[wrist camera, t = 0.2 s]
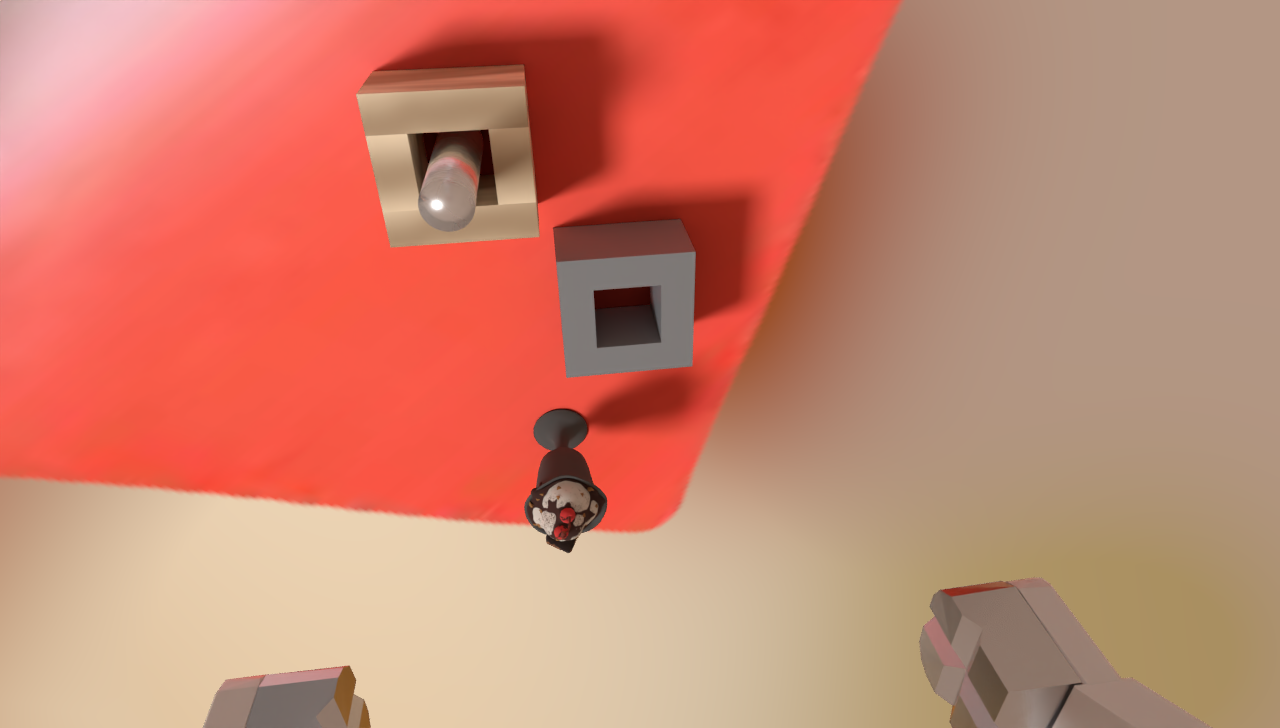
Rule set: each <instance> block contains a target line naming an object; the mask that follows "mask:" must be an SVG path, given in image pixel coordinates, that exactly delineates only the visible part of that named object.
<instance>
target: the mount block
mask: <svg viewBox="0 0 1280 728" xmlns="http://www.w3.org/2000/svg"><path fill="white" fill-rule="evenodd" d="M356 96H357V100H358V105H359V109H360V113H361V118H362V122H363V127H364V131H365V136H366V140H367V144H368V149H369V153H370V158H371V162H372V167H373V171H374V175H375V180H376V184H377V189H378V193H379V198H380V202H381V206H382V211H383V215H384V220H385V224H386V229H387V233H388V237H389V242H390V246H391V247H403V246H417V245H431V244H446V243H460V242H474V241H488V240H502V239H517V238H531V237H540V236H539V217H538V201H537V191H536V181H535V171H534V161H533V151H532V141H531V131H530V120H529V110H528V100H527V90H526V80H525V70H524V64H521V65H499V66H477V67H456V68H434V69H413V70H391V71H373V72H372V73H371V74H370V76H369V77H368V79H367V80H366V81H365V83H364V84H363V86H362V87H361V88H360V90H359V91H358V93H357V94H356ZM486 129H489V137H490V144H491V152H492V160H493V167H494V174H491V175H480V176H479V184H478V191H477V199H476V207H475V213H474V216H473V219H472V220H471V222H470V223H469V224H468V225H467V226H466V227H464V228H462V229H460V230H458V231H453V232H446V231H440V230H438V229H435V228H433V227H432V226H430V225H429V224H428V223H427V222H426V221H425V220H424V219H423V218H422V216H421V214H420V212H419V208H418V198H419V195H420V191H421V188H422V185H423V182H424V178H425V175H426V172H427V168H428V160H427V155H426V149H425V144H424V138H423V133H432V132H450V131H468V130H486Z"/></svg>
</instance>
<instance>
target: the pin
mask: <svg viewBox="0 0 1280 728" xmlns="http://www.w3.org/2000/svg"><path fill="white" fill-rule="evenodd" d="M482 152H483V137H482V134H481V132H480V131H479V130H468V131H450V132H438V135H437V139H436V142H435V145H434V149H433V152H432V155H431V158H430V162H429V165H428V168H427V172H426V175H425V178H424V182H423V185H422V188H421V191H420V195H419V198H418V208H419V212H420V214H421V216H422V218H423V219H424V220H425V221H426V222H427V223H428V224H429V225H430V226H432V227H433V228H435V229H438V230H440V231H446V232H453V231H458V230H460V229H462V228H464V227H466V226H467V225H468V224H469V223H470V222H471V220H472V219H473V216H474V213H475V207H476V199H477V191H478V184H479V176H480V168H481V160H482Z"/></svg>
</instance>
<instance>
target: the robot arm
mask: <svg viewBox="0 0 1280 728" xmlns="http://www.w3.org/2000/svg"><path fill="white" fill-rule="evenodd" d="M930 608H931V610H932V612H933V613H934V615H935V616H934V617H933V618H932V619H931V620H930V621H929V622H927V623H926V624H925V625H924V626H923V629H922V634H921V637H920V641H919V642H920V652H921V660H922V663H923V666H924V670H925V673H926V675H927V678H928V680H929V682H930V684H931V686H932V688H933V690H934V692H935V693H936V694H938V695H939V696H940V697H942V698H943V699H944V700H946V701H947V702H948V703H950V704H951V705H952V711H951V717H950V724H951V726H952V728H1212V727H1210V726H1209V725H1207V724H1206V723H1204V722H1202V721H1201V720H1199V719H1198V718H1196V717H1194V716H1193V715H1191V714H1189V713H1188V712H1186V711H1185V710H1183V709H1182V708H1180V707H1178V706H1177V705H1175V704H1173V703H1172V702H1170V701H1169V700H1167V699H1165V698H1164V697H1162V696H1161V695H1159V694H1157V693H1156V692H1154V691H1153V690H1151V689H1149V688H1148V687H1146V686H1144V685H1143V684H1141V683H1140V682H1138V681H1137V680H1135V679H1133V678H1121V677H1120V676H1119V674H1118V673H1117V672H1116V671H1115V669H1114V668H1113V666H1112V665H1111V664H1110V663H1109V661H1108V660H1107V659H1106V657H1105V656H1104V655H1103V653H1102V652H1101V651H1100V649H1099V648H1098V647H1097V645H1096V644H1095V643H1094V641H1093V640H1092V639H1091V638H1090V636H1089V635H1088V634H1087V632H1086V631H1085V629H1084V628H1083V627H1082V625H1081V624H1080V623H1079V621H1078V620H1077V619H1076V617H1075V616H1074V615H1073V613H1072V612H1071V611H1070V610H1069V608H1068V607H1067V605H1066V604H1065V603H1064V601H1063V600H1062V599H1061V598H1060V596H1059V595H1058V594H1057V592H1056V591H1055V589H1054V588H1053V587H1052V586H1051V584H1050V583H1048V582H1047V581H1045V580H1044V579H1043V578H1027V579H1020V580H1014V581H1006V582H1003V581H998V582H991V583H984V584H977V585H971V586H964V587H956V588H950V589H943V590H939V591H938V592H937V593H935V594H934V595H933V598H932V601H931V604H930ZM355 684H356V678H355V677H354V674H353V672H352V670H351V668H350V666H342V667H333V668H324V669H315V670H307V671H297V672H289V673H280V674H271V675H269V674H267V675H259V676H251V677H243V678H236V679H228V680H225V682H224V683H223V685H222V686H221V687H220V688H219V690H218V691H217V693H216V694H215V697H214V699H213V702H212V704H211V707H210V710H209V713H208V715H207V718H206V720H205V723H204V726H203V728H370V727H371V726H370V719H369V713H368V709H367V706H366V704H365V701H364V699H362V698H360V697H358V696H356V695H354V689H355Z"/></svg>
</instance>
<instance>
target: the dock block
mask: <svg viewBox="0 0 1280 728" xmlns="http://www.w3.org/2000/svg"><path fill="white" fill-rule="evenodd" d="M553 231H554V242H555V254H556V265H557V276H558V288H559V299H560V311H561V322H562V333H563V344H564V355H565V366H566V377H567V378H568V377H579V376H590V375H601V374H613V373H624V372H635V371H646V370H657V369H668V368H679V367H690V366H692V359H693V325H694V292H695V258H696V251H695V249H694V247H693V245H692V243H691V240H690V238H689V236H688V234H687V232H686V229H685V227H684V225H683V223H682V221H681V219H672V220H657V221H643V222H629V223H614V224H600V225H585V226H571V227H557V228H553ZM645 286H650V305H638V306H626V307H614V308H601V309H595V307H594V290H607V289H620V288H632V287H645Z"/></svg>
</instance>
